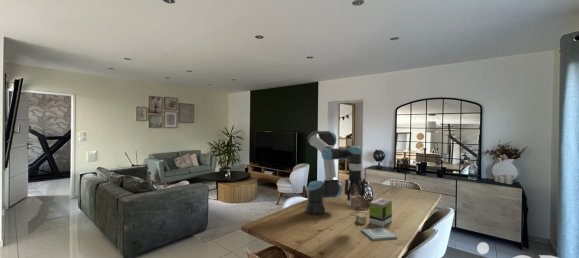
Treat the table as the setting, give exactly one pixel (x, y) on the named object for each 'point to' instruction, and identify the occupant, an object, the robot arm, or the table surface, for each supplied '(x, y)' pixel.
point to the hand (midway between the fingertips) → (354, 205)
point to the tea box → (380, 212)
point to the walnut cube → (355, 201)
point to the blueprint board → (378, 234)
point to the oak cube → (360, 218)
